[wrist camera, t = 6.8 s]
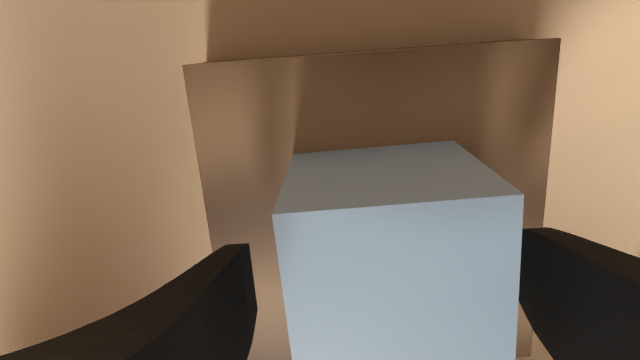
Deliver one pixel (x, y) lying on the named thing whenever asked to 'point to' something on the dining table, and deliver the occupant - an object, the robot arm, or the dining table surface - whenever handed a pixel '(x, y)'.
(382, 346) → the cube
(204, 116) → the base
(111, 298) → the dining table surface
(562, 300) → the robot arm
